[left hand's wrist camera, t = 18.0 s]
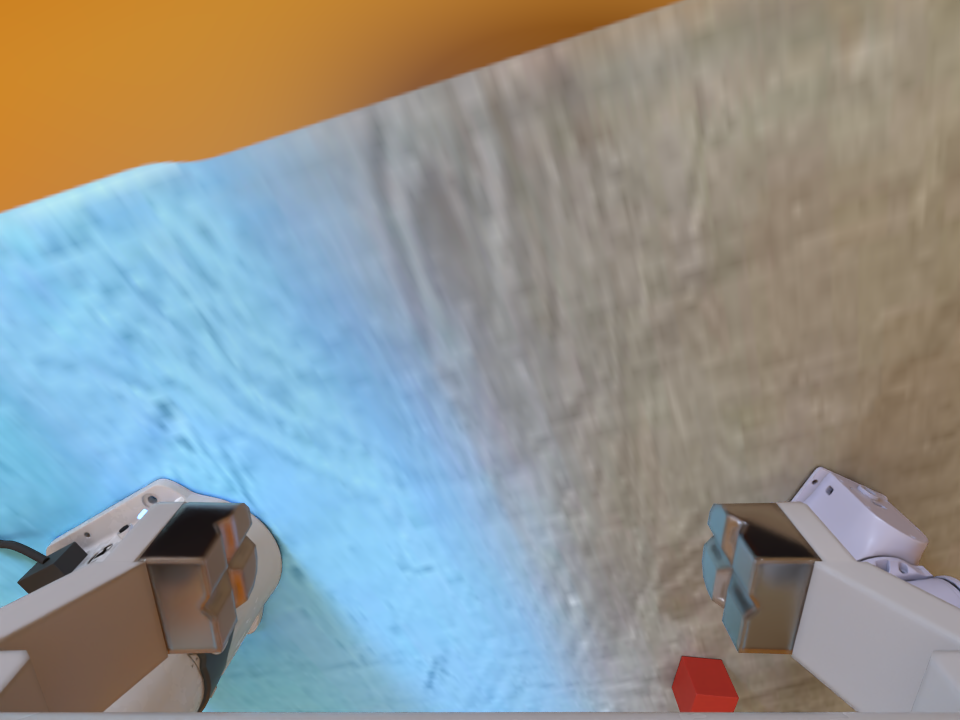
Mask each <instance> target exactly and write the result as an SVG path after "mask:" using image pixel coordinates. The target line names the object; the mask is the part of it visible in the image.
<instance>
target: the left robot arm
mask: <svg viewBox="0 0 960 720" xmlns="http://www.w3.org/2000/svg"><path fill="white" fill-rule="evenodd" d="M152 496H154V497H155V498H156V499H154V498H153V497H152ZM708 525H709V527H710V529H711V531H712V532H713V534H714V535H713V536H712V537H711V538H710V540H709V541H708V542H707V543H706V544H705V545H704V550H703V558H702V566H703V577H704V581H705V584H706V588H707V590H708V592H709V595H710V597H711V599H712V601H714V602H715V603H717V604H718V605H719V606H721V607H722V608H724V613H723V619H722V621H723V623H724V625H725V627H726V629H727V631H728V633H729V635H730V637H731V639H732V641H733V643H734V645H735V647H736V649H737V651H738V653H770V654H792V656H791V657H792V658H794V659H795V660H796V661H797V662H798V663H800V664H801V665H802V666H803V667H804V668H806V669H807V670H808V671H809V672H810V673H811V674H813V675H814V676H815V677H816V678H817V679H819V680H820V681H821V682H822V683H823V684H825V685H826V686H827V687H828V688H829V689H830V690H832V691H833V692H834V693H835V694H836V695H838V696H839V697H840V698H841V699H842V700H843V701H845V702H846V703H847V704H848V705H849V706H851V707H852V708H853V709H854V710H855V711H857V712H202V711H203V709H204V708H205V706H206V705H207V703H208V701H209V699H210V698H211V697H212V696H213V694H214V692H215V690H216V688H217V686H216V685H217V683H218V681H219V679H220V677H221V676H222V674H223V673H224V671H225V670H226V668H227V666H228V665H229V663H230V662H231V660H232V658H233V657H234V655H235V653H236V652H237V650H238V648H239V647H240V645H241V643H242V642H243V640H244V638H245V637H246V635H247V634H250V633H253V632H254V631H255V630H256V629H257V627H258V625H259V624H260V622H261V619H262V614H263V606H264V604H265V602H266V601H267V600H268V598H269V597H270V596H271V594H272V593H273V592H274V590H275V589H276V587H277V585H278V583H279V580H280V577H281V572H282V559H281V554H280V550H279V547H278V545H277V543H276V541H275V539H274V537H273V536H272V534H271V533H270V531H269V530H268V529H267V528H266V526H265V525H264V524H263V523H262V522H261V521H260V520H259V519H257V518H256V517H255V516H254V515H252V514H251V513H250V510H249V507H248V506H247V505H246V504H245V503H231V502H228V501H225V500H222V499H219V498H215V497H210V496H205V495H201V494H197V493H194V492H192V491H190V490H189V489H187V488H185V487H183V486H182V485H180V484H178V483H176V482H174V481H172V480H169V479H158V480H156V481H154V482H153V483H151V484H149V485H147V486H146V487H144V488H142V489H140V490H139V491H137V492H135V493H134V494H132V495H130V496H128V497H127V498H125V499H123V500H121V501H120V502H118V503H116V504H115V505H113V506H111V507H109V508H108V509H106V510H104V511H103V512H101V513H99V514H97V515H96V516H94V517H92V518H90V519H89V520H87V521H85V522H84V523H82V524H80V525H78V526H77V527H75V528H73V529H71V530H70V531H68V532H66V533H65V534H63V535H61V536H60V537H58V538H56V539H55V540H54V541H52V542H51V544H50V545H49V546H48V547H47V550H46V556H45V555H43V554H41V553H39V552H37V551H35V550H33V549H32V548H30V547H28V546H25V545H23V544H21V543H18V542H15V541H5V540H0V548H8V549H12V550H15V551H17V552H19V553H22V554H24V555H26V556H28V557H29V558H31V559H33V560H35V561H37V563H36V564H35V565H34V566H33V567H32V568H31V569H30V570H29V571H28V572H27V573H26V574H25V575H24V576H23V577H22V578H21V579H20V580H19V581H18V582H17V583H18V584H19V585H20V586H21V587H22V588H23V589H24V590H25V591H26V592H27V593H29V594H28V595H26V596H24V597H22V598H20V599H18V600H16V601H14V602H12V603H10V604H8V605H6V606H4V607H2V608H0V720H960V608H958V607H956V606H954V605H952V604H950V603H948V602H946V601H944V600H942V599H940V598H938V597H936V596H934V595H932V594H930V593H928V592H926V591H924V590H922V589H920V588H918V587H916V586H914V585H912V584H910V583H908V582H906V581H904V580H902V579H900V578H898V577H896V576H894V575H892V574H890V573H888V572H886V571H884V570H882V569H880V568H878V567H876V566H875V565H873V564H871V563H869V562H857V561H856V559H855V558H854V557H853V556H852V555H851V554H850V553H849V551H848V550H847V549H846V548H845V547H844V546H843V545H842V544H841V542H840V541H839V540H838V539H837V538H836V537H835V536H834V534H833V533H832V532H831V531H830V530H829V529H828V528H827V527H826V525H825V524H824V523H823V522H822V521H821V520H820V519H819V517H818V516H817V515H816V514H815V513H814V512H813V511H812V510H811V508H810V507H809V506H808V505H807V504H805V503H802V502H800V501H796V502H771V503H734V504H713V506H712V508H711V510H710V513H709V519H708Z"/></svg>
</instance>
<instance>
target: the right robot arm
mask: <svg viewBox="0 0 960 720" xmlns="http://www.w3.org/2000/svg"><path fill="white" fill-rule="evenodd" d="M814 480H815V482H813V481H814ZM796 501H800V502H802V503H805V504H807V505H808V506H809V507H810V508H811V510H812V511H813V512H814V513H815V514H816V515H817V516H818V517H819V519H820V520H821V521H822V522H823V523H824V524H825V525H826V527H827V528H828V529H829V530H830V531H831V532H832V533H833V534H834V536H835V537H836V538H837V539H838V540H839V541H840V542H841V544H842V545H843V546H844V547H845V548H846V549H847V550H848V551H849V553H850V554H851V555H852V556H853V557H854V558H855V559H856V561H857V562H869V563H871V564H873V565H875V566H876V567H878V568H880V569H882V570H884V571H886V572H888V573H890V574H892V575H894V576H896V577H898V578H900V579H902V580H904V581H906V582H908V583H910V584H912V585H914V586H916V587H918V588H920V589H922V590H924V591H926V592H928V593H930V594H932V595H934V596H936V597H938V598H940V599H942V600H944V601H946V602H948V603H950V604H952V605H954V606H956V607H958V608H960V581H959V580H957V579H955V578H953V577H950V576H936V577H934V576H933V575H932V574H931V573H930V572H929V571H928V570H927V569H926V568H925V567H923V566H918V565H919V561H920V558H921V556H922V553H923V551H924V550H925V548H926V546H927V544H928V542H929V541H928V539H927V537H926V536H925V535H924V534H923V533H922V532H921V531H920V530H919V529H918V528H917V527H916V526H915V525H914V524H913V523H912V522H911V521H909V520H908V519H907V518H906V517H905V516H904V515H903V514H902V513H901V512H900V511H898V510H897V509H896V508H895V507H894V506H893V505H892V504H891V503H890V502H889V501H888V498H887V497H886V496H885V495H883V494H881V493H879V492H876V491H874V490H872V489H870V488H868V487H866V486H864V485H861V484H859V483H856V482H854V481H852V480H850V479H847V478H845V477H843V476H841V475H839V474H836V473H834V472H832V471H830V470H827V469H825V468H823V467H819V468H817V469H816V470H815V471H814V472H813V473H812V475H811V476H810V477H809V478H808V480H807V481H806V482H805V484H804V485H803V486H802V488H801V489H800V490H799V491H798V493H797V494H796V495H795V497H794V498H793V499H792V501H791V502H796ZM933 577H934V578H933Z"/></svg>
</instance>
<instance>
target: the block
mask: <svg viewBox="0 0 960 720" xmlns="http://www.w3.org/2000/svg"><path fill="white" fill-rule="evenodd" d="M672 690H673V693H674V695H675V698H676V701H677V704H678V707H679V710H680V712H734V710H735V707H736V704H737V702H738V699H739V697H738V695H737V693H736V691H735V688H734V686H733V684H732V682H731V680H730V677H729V675H728V673H727V671H726V669H725V667H724V664H723V662H722V660H718V659H707V658H696V657H685V656H682V658H681V661H680V664H679V667H678V670H677V673H676V676H675V679H674V682H673V686H672Z"/></svg>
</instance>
